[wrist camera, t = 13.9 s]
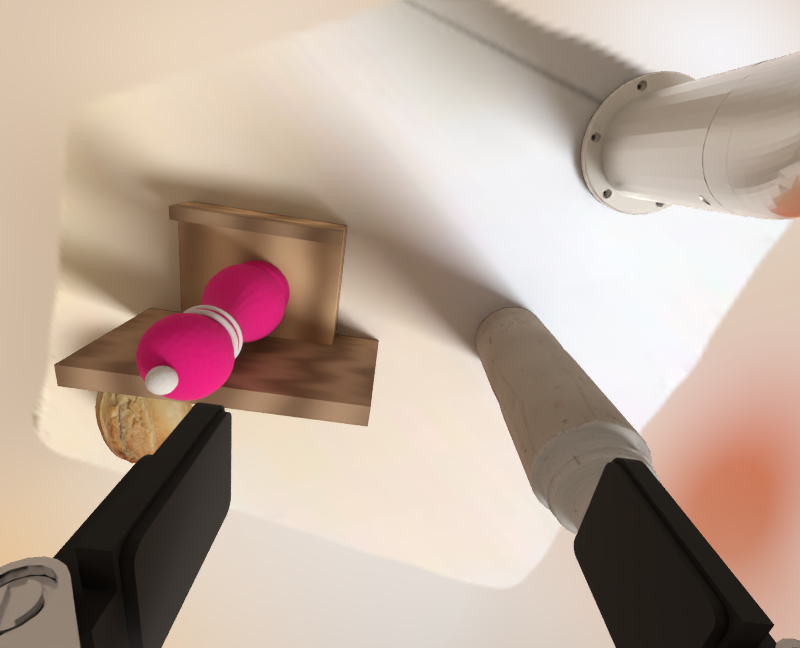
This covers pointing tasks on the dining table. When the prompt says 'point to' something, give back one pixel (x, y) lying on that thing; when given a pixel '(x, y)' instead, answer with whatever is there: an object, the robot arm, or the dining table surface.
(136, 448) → the bread roll
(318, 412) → the wall shelf
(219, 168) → the dining table surface
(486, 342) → the thermos bottle
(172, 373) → the pepper mill
